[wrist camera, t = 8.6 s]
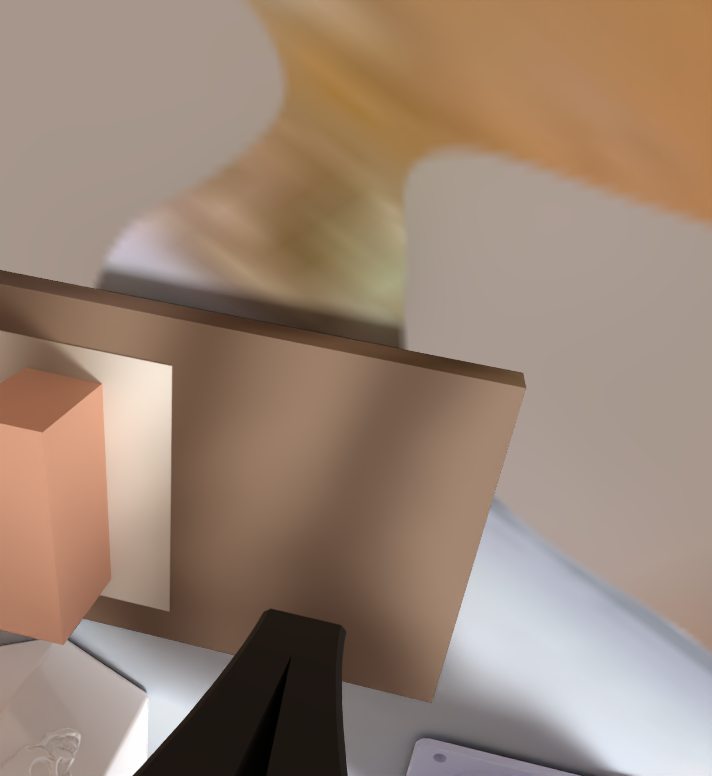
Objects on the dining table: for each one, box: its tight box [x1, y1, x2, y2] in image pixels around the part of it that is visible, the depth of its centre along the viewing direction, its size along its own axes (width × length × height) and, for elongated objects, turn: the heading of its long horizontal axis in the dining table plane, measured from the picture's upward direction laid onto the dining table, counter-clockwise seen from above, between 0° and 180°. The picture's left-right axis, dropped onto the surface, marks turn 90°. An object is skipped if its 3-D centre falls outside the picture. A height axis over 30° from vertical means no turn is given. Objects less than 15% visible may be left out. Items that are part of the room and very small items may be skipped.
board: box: [0, 270, 526, 703], centre depth 21 cm, size 20×13×1 cm, turn 82°
